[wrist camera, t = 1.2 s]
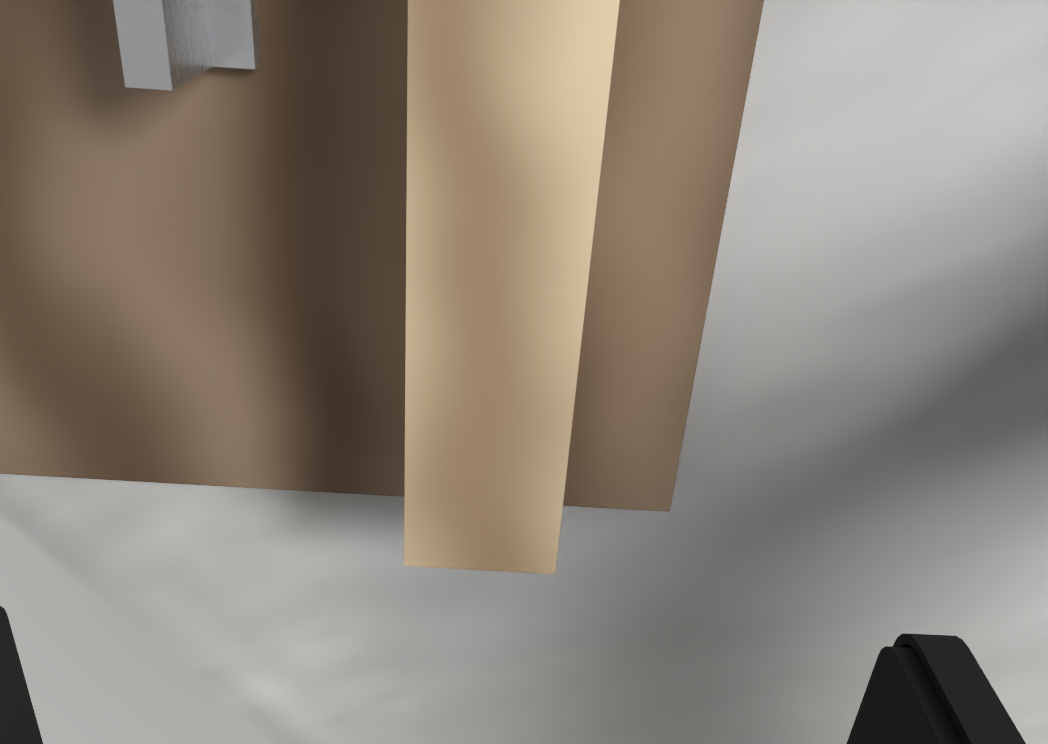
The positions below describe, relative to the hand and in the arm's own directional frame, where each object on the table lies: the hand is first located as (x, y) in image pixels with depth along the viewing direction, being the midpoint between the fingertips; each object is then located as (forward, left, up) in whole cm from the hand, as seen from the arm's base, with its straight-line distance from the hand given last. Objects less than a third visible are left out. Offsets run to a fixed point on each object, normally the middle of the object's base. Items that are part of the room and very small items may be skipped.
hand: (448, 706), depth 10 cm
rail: (0, -1, -16) cm, 16 cm away
